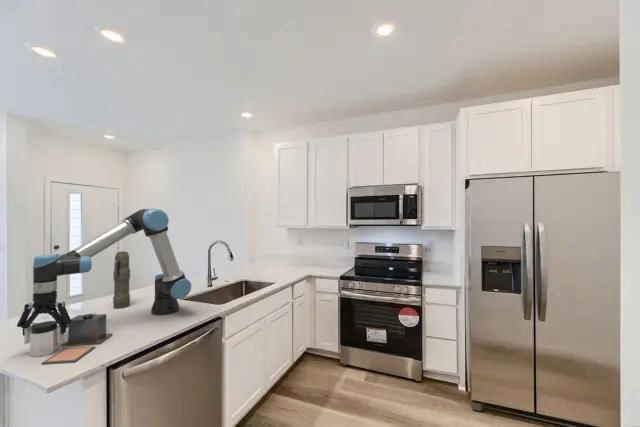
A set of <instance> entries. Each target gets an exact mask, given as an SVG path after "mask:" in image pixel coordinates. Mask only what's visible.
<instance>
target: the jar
mask: <svg viewBox="0 0 640 427" xmlns="http://www.w3.org/2000/svg"><path fill="white" fill-rule="evenodd" d="M31 326H32V329H31V333H30V343H29V356H30V357H38V358H40V357H43V356H47V355H50V354H54V353H55V352H56V351H57V350H58V349H59V342H58V343H57V339H58V327H57V322H56V321H46V322H41V323H38V324H35V325H31Z"/></svg>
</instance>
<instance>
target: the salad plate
mask: <svg viewBox="0 0 640 427" xmlns="http://www.w3.org/2000/svg"><path fill="white" fill-rule="evenodd" d="M66 310H67V312H68V315H69V317H70V319H72V318H74V317H76V316H78V315H86V314H93V315H97V312H94V311H89V310H88V311H87V310H81V309H75V308H74V309H73V308H71V309H66ZM58 313H59V312H58ZM59 314H60V313H59ZM46 321H55V320H54V318H53V317H52V316H51V315H49V314H48V315H46V316H42V317H39V318H35V319H34V321H33V322H32V323H31V324H30V325H31V326H33V325H35V324H38V323H41V322H46ZM57 327H59V324H58V323H57ZM66 327H68V325H66Z"/></svg>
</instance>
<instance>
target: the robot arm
mask: <svg viewBox="0 0 640 427" xmlns="http://www.w3.org/2000/svg"><path fill="white" fill-rule="evenodd" d="M168 224H169V216H168V214H167V213H166V212H165V211H163V210H161V209H159V208H143V209H139V210H137V211H136V212H135V211H134V212H133V213H132V214H130V215H128V216H127V217H125V218H124V219H122V222H121V223H119V224H117V225H115V226H113V227H111V228H110V229H108V230H106V231H105V232H102V233H100V234H99V235H97V236H95V237H94V238H92V239H89V240H88V241H86V242H85V243H82V245H79V246H78V247H76V248H73V249H72V250H70V251H68V252H66V253H64V254H60V255H57V254H40V255H37V256H35V257H34V258H33V265H32V269H33V270H32V272H33V273H32V279H33V280H32V281H33V282H32V292H33V294H32V302H33V303H32V302H29V303H27V304H25V305H24V307H23V308H24V309H23V312H22V314H21V316H20V317H19V320H18V322H17V325H16V327H17V328H21V329H22V335H23V337H24V345H27V344H30V333H31V329H32V326H33V325H32V324H31V323H32V322H33V321H34V320H35V319H37V317H38V316H39V315H41V314H44V315H45V314H48V315H51V316H52V317H53V318H54V320H55V321H56V322H57V323H58V324H59V327H58V339H57V343H58V344H59V343H62V342H64V341H65V333H66V332H67V326H66V325H68V324H69V323H71V319H70V317H69V315H68V312H67V310H68V309H66V302H65V301H61V302H57V298H58V291H57V289H58V276H59V277H60V276H66V275H67V276H68V275H76V274H84V273H88V272H90V271H91V270H92V265H93V264H92V263H93V262H92V257H94V256H96V255H98V254H99V253H102V252H103V251H105V250H106V249H108V248H109V247H111V246H113V245H114V244H116V243H117V242H119V241H121V240H123V239H124V238H126V237H128V236H130V235H133V234H137V233H138V232H140V231H143V233H144V235H145V237H147V238H149V239H150V242H151V245H152V247H153V250H154V253H155V255H156V258H157V260H158V263H159V266H160V269H161V271H162V273H160V274H156V275H155V276H154V301H153V304H152V306H151V309H150V313H151V315H154V316H164V315H170V314H174V313H176V312H179V311H180V305H179V301H178V300H182V299H184V298H186V297H188V295H189V294H190V292H191V291H192V282H191V281H190V280H189V279H188V278H186V275H185V272H184V271H183V270H181V269H180V268H179V267H180V266H179V264H178V261H177V259H176V256H175V253H174V250H173V247H172V245H171V242H170V239H169V235H168V232H169V227H168ZM32 309H34V310H33V312H32ZM59 313H60V314H59ZM30 314H31V315H30Z"/></svg>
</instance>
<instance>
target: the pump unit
mask: <svg viewBox="0 0 640 427" xmlns="http://www.w3.org/2000/svg"><path fill="white" fill-rule="evenodd" d="M67 329H68V334H67V338H68V339H67V340H63V341H62V342H61V344H60V347H76V346H77V347H78V346H95V345H101V344H103V343H104V342H106V341H107V340H108V339H110V338H111V337H112V336H113V333H110V332H109V333H107V313H101V314H97V313H96V315H93V314H86V315H78V316H76V317H74V318H72V319H71V323H69V324H68V326H67Z"/></svg>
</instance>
